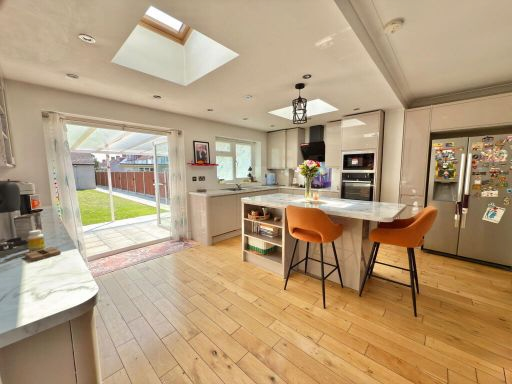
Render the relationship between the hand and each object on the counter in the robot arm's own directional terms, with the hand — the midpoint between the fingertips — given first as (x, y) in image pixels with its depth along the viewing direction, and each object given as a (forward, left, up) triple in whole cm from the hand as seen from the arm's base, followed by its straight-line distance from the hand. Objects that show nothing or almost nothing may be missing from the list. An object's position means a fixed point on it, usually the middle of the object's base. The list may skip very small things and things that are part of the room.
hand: (23, 240), depth 95 cm
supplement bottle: (0, +4, -6) cm, 7 cm away
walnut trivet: (+12, +3, -6) cm, 14 cm away
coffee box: (-13, +5, -6) cm, 15 cm away
